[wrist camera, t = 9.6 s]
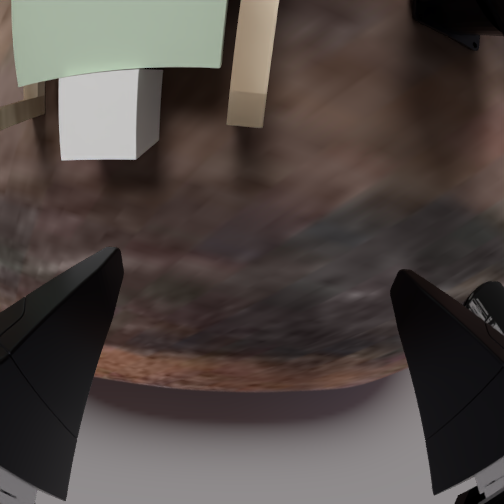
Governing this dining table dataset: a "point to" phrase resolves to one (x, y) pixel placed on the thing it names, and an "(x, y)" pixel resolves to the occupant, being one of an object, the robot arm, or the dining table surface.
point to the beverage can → (489, 304)
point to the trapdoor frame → (242, 80)
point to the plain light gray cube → (109, 114)
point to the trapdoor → (114, 36)
